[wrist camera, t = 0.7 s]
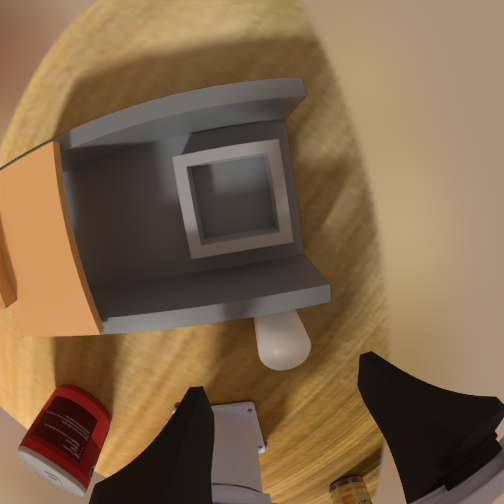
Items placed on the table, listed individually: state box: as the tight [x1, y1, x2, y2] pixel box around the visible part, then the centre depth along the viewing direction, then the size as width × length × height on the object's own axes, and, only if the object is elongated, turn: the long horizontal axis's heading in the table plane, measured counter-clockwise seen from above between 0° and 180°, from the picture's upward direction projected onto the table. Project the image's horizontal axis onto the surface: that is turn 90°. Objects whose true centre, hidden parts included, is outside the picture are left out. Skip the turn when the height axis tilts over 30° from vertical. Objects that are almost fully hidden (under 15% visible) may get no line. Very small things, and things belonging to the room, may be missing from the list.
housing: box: [0, 77, 331, 337], centre depth 15 cm, size 11×19×6 cm, turn 99°
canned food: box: [17, 385, 110, 496], centre depth 17 cm, size 8×8×11 cm
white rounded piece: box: [253, 309, 311, 370], centre depth 18 cm, size 3×3×5 cm
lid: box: [0, 141, 104, 337], centre depth 10 cm, size 10×7×2 cm
